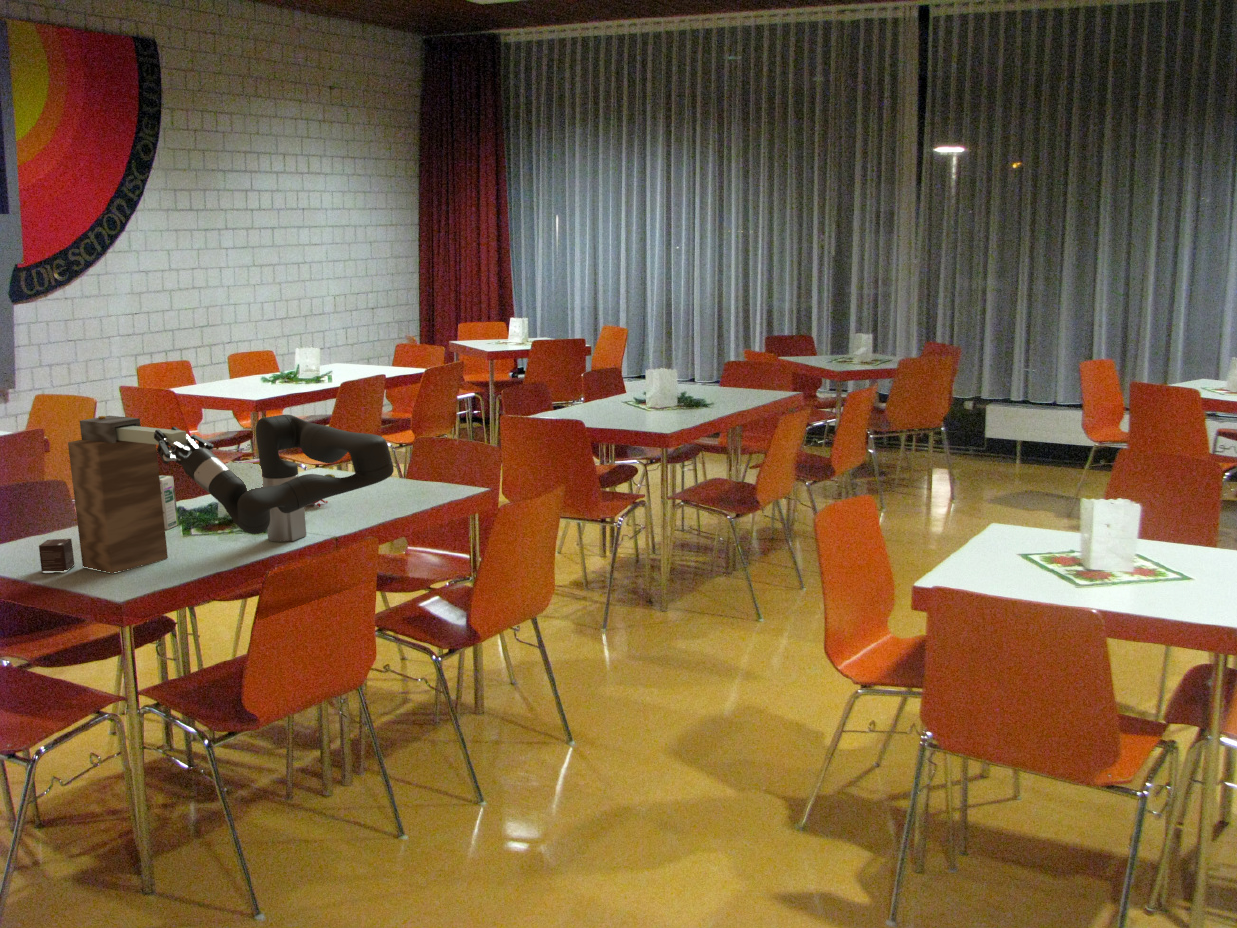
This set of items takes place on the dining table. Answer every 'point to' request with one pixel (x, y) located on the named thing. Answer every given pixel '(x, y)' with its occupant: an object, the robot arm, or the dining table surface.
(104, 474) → the switch stand
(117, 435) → the switch handle
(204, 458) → the robot arm
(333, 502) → the dining table surface
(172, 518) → the syrup box
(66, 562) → the box
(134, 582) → the dining table surface
